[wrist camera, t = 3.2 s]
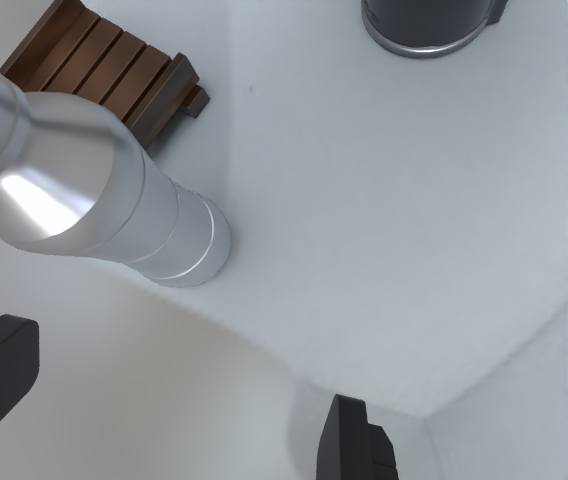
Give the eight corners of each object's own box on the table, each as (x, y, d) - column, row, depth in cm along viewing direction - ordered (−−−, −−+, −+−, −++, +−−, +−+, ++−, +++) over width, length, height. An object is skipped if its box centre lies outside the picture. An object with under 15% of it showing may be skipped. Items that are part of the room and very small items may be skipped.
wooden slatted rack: (93, 22, 37) (59, -17, 32) (214, 94, 33) (193, 59, 29) (-7, 149, 35) (-55, 125, 31) (106, 238, 32) (68, 224, 28)
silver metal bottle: (146, 217, 32) (-185, 40, 12) (231, 194, 31) (18, -35, 11) (158, 301, 30) (-201, 247, 11) (248, 279, 29) (32, 177, 10)
